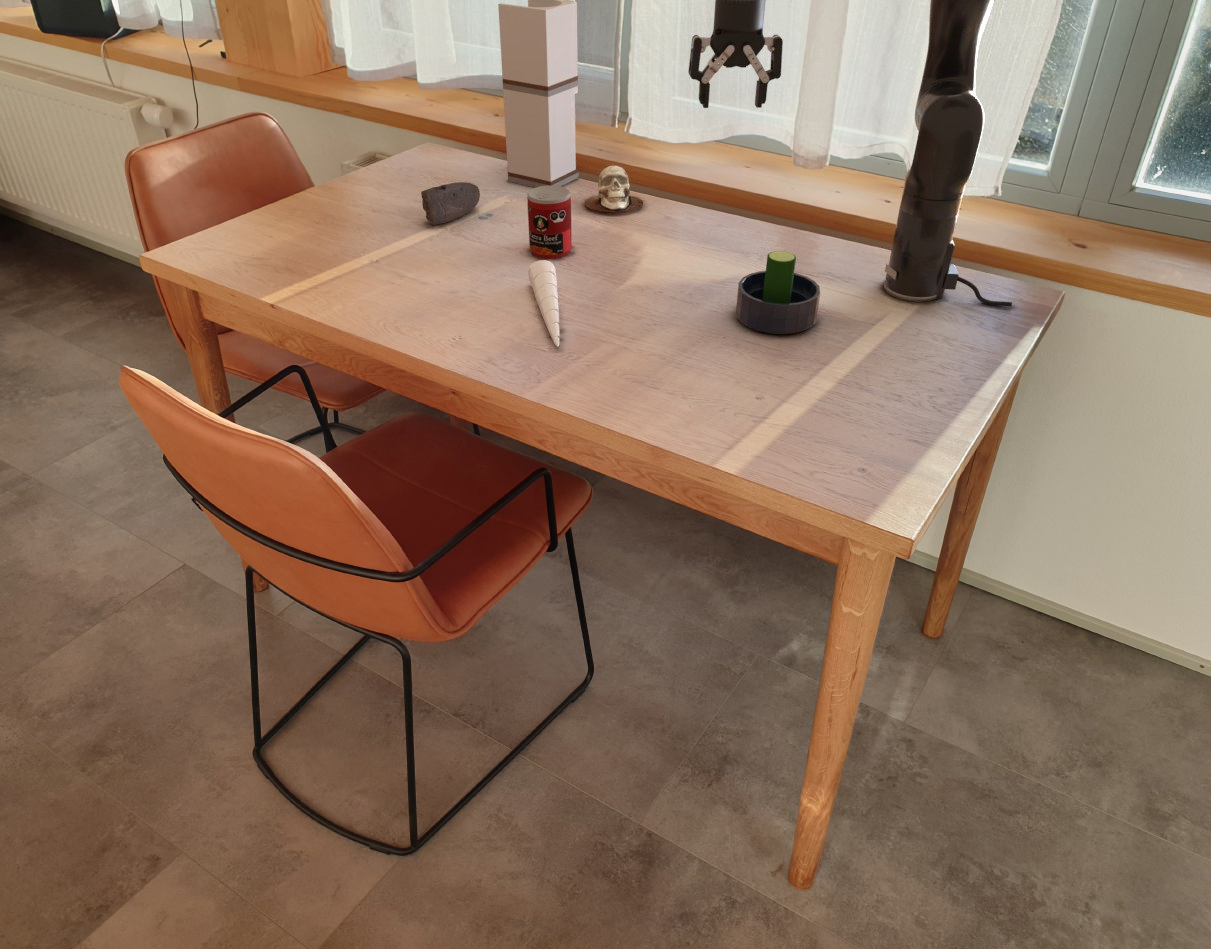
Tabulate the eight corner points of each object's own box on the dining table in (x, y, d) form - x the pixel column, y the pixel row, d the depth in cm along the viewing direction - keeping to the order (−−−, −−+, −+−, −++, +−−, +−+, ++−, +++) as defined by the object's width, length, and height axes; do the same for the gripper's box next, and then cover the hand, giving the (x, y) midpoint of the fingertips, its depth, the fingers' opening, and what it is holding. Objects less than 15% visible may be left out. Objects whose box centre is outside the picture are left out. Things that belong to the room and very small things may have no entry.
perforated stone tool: (472, 204, 192) (469, 171, 188) (489, 210, 189) (487, 176, 185) (415, 225, 183) (411, 190, 179) (432, 232, 180) (429, 196, 176)
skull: (650, 210, 187) (615, 173, 182) (611, 243, 191) (577, 207, 186) (647, 187, 196) (614, 151, 191) (610, 219, 200) (577, 185, 196)
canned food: (522, 255, 171) (519, 196, 165) (541, 240, 177) (539, 182, 171) (560, 262, 169) (559, 202, 162) (578, 246, 175) (577, 188, 168)
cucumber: (787, 309, 153) (795, 251, 147) (788, 321, 149) (796, 262, 143) (760, 308, 153) (767, 249, 147) (761, 320, 149) (767, 261, 143)
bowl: (813, 303, 156) (817, 272, 153) (818, 339, 146) (823, 307, 142) (735, 299, 157) (738, 268, 154) (735, 334, 147) (738, 302, 143)
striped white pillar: (578, 177, 206) (576, 1, 185) (551, 191, 199) (545, 10, 178) (536, 168, 211) (530, -4, 190) (508, 181, 204) (498, 4, 183)
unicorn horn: (533, 351, 142) (531, 322, 139) (528, 285, 161) (527, 258, 158) (564, 349, 142) (563, 321, 140) (556, 284, 162) (555, 257, 159)
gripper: (697, -1, 137) (690, 113, 146) (793, -2, 137) (780, 112, 147) (690, -10, 143) (684, 101, 152) (782, -11, 143) (771, 100, 153)
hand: (731, 106), depth 150 cm, fingers open, 8 cm apart
